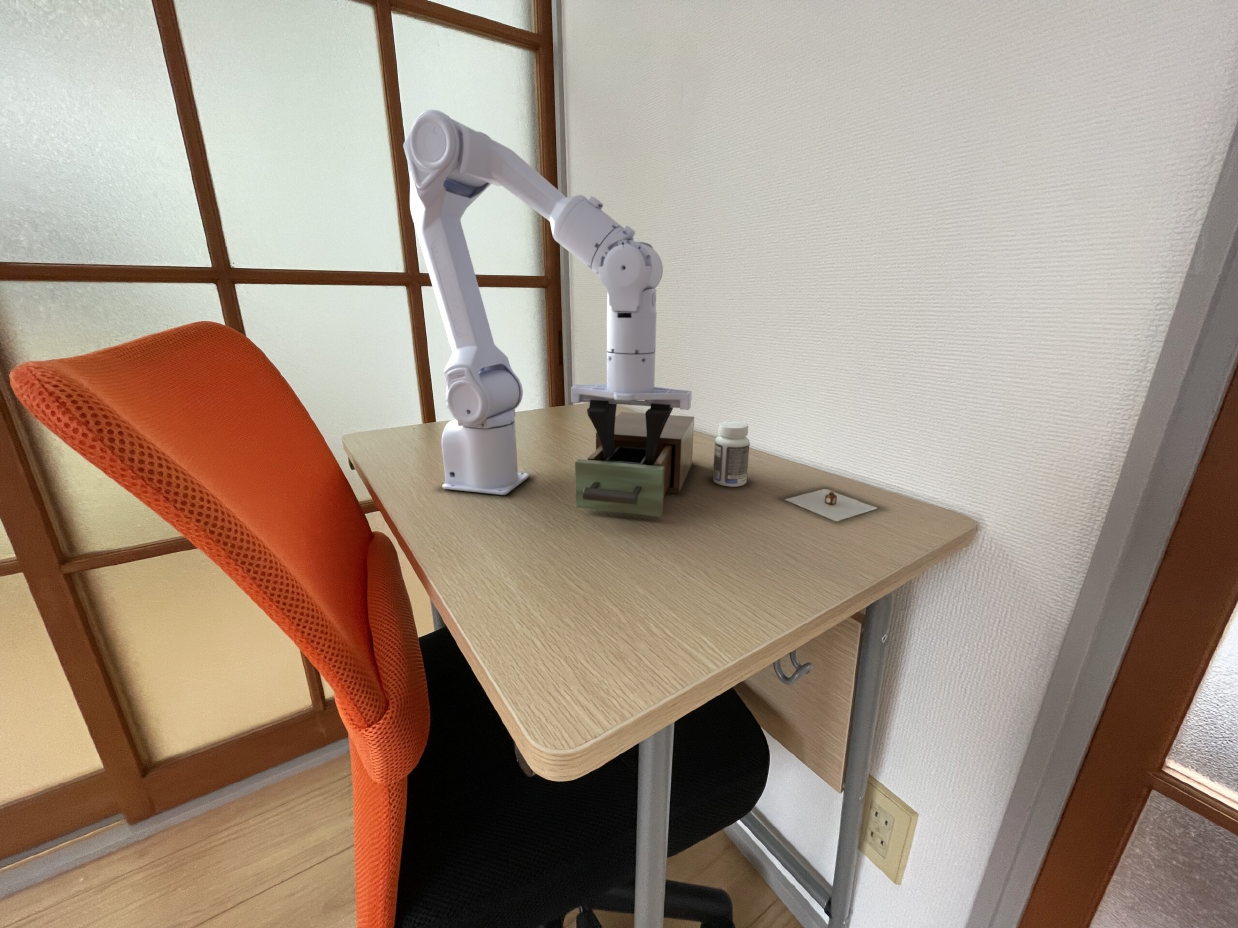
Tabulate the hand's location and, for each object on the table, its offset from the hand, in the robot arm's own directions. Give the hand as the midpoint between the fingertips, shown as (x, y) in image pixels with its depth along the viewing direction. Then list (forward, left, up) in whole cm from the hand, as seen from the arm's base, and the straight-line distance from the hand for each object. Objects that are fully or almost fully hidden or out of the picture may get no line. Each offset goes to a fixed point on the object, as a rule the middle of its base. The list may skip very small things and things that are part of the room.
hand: (629, 461), depth 66 cm
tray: (0, 0, -2) cm, 2 cm away
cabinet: (0, +11, -5) cm, 12 cm away
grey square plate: (+25, +6, -6) cm, 26 cm away
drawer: (0, -2, -5) cm, 5 cm away
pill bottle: (+12, +11, -6) cm, 17 cm away
